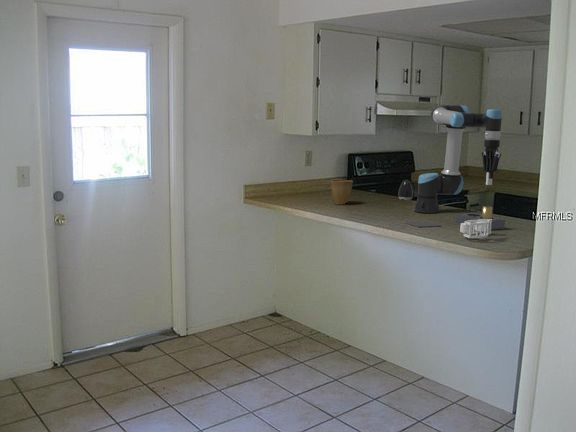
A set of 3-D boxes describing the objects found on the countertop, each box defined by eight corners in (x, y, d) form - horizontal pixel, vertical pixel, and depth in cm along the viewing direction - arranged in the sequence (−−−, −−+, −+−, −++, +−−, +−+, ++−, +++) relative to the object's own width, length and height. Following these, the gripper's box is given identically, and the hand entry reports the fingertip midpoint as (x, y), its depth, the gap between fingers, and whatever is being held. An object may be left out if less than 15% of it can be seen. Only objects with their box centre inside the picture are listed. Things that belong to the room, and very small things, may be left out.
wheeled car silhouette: (482, 231, 305) (483, 217, 304) (500, 235, 296) (501, 220, 295) (455, 235, 294) (456, 220, 293) (473, 239, 285) (474, 223, 284)
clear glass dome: (405, 202, 414) (406, 180, 411) (394, 201, 422) (395, 179, 420) (415, 201, 420) (417, 180, 417) (404, 200, 428) (405, 178, 426)
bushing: (479, 226, 320) (480, 206, 318) (486, 226, 321) (488, 206, 320) (485, 228, 315) (486, 207, 313) (492, 228, 317) (494, 207, 315)
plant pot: (353, 206, 391) (353, 181, 389) (330, 205, 391) (331, 181, 389) (351, 203, 406) (352, 179, 403) (329, 202, 406) (329, 179, 404)
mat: (404, 223, 327) (404, 222, 327) (426, 222, 332) (426, 221, 331) (418, 227, 314) (418, 226, 314) (441, 226, 318) (441, 225, 318)
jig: (455, 222, 332) (456, 213, 331) (475, 221, 337) (476, 212, 336) (483, 230, 310) (484, 220, 309) (504, 229, 314) (505, 219, 313)
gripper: (478, 138, 316) (475, 183, 320) (494, 139, 304) (491, 186, 308) (490, 139, 318) (486, 183, 322) (506, 140, 306) (503, 186, 310)
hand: (488, 184), depth 315 cm, fingers closed
